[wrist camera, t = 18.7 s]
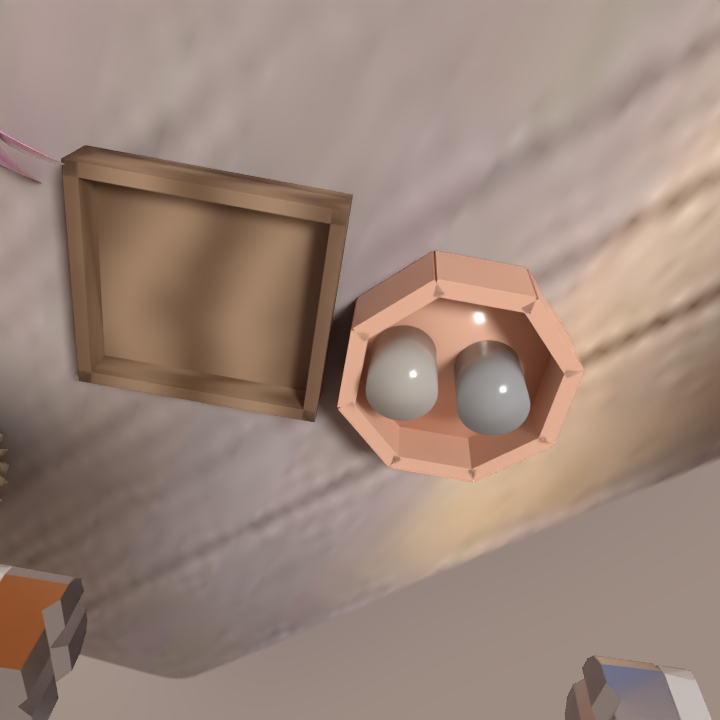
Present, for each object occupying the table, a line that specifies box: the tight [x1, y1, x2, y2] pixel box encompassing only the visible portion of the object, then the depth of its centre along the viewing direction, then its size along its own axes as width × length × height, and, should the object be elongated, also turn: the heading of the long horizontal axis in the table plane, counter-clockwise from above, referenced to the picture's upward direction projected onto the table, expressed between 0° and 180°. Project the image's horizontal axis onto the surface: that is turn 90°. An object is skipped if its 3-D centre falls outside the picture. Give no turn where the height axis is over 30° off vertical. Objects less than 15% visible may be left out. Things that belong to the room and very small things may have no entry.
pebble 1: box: [366, 325, 438, 421], centre depth 38 cm, size 4×4×4 cm
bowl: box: [337, 251, 584, 482], centre depth 39 cm, size 13×13×4 cm
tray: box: [61, 145, 353, 422], centre depth 38 cm, size 15×14×3 cm
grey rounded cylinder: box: [454, 340, 530, 436], centre depth 38 cm, size 4×4×4 cm
